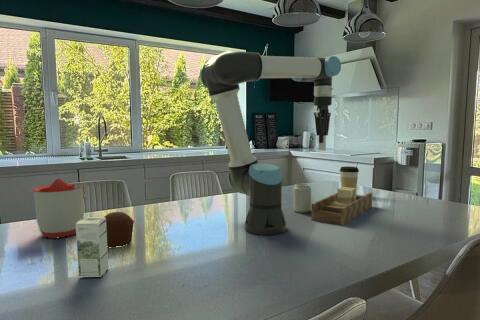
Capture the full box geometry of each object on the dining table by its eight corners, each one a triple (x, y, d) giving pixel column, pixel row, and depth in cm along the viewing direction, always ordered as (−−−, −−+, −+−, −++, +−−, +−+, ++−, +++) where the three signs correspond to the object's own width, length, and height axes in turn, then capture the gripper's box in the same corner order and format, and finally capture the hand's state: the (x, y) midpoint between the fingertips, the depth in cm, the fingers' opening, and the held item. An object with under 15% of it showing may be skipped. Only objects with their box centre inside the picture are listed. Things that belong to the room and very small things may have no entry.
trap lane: (343, 225, 128) (343, 208, 128) (311, 219, 136) (311, 203, 136) (372, 206, 157) (372, 192, 156) (344, 202, 165) (344, 189, 164)
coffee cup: (360, 194, 184) (361, 166, 182) (355, 198, 175) (356, 169, 174) (341, 192, 189) (342, 165, 187) (336, 196, 181) (337, 167, 179)
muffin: (132, 248, 107) (131, 217, 106) (95, 251, 105) (93, 219, 104) (136, 236, 118) (135, 208, 117) (102, 238, 116) (100, 210, 115)
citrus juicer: (99, 230, 125) (96, 176, 123) (50, 244, 111) (46, 183, 109) (75, 223, 134) (72, 173, 132) (27, 236, 120) (23, 179, 118)
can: (309, 209, 154) (310, 182, 152) (311, 213, 146) (311, 185, 145) (293, 208, 154) (293, 182, 153) (293, 213, 147) (294, 185, 146)
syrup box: (109, 269, 91) (106, 216, 90) (101, 279, 86) (98, 222, 84) (87, 269, 91) (84, 216, 90) (78, 279, 85) (74, 222, 84)
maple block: (350, 204, 144) (351, 190, 144) (337, 202, 148) (337, 189, 147) (355, 201, 149) (356, 188, 148) (342, 200, 153) (342, 186, 152)
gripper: (324, 95, 142) (324, 151, 144) (336, 96, 152) (335, 149, 155) (308, 96, 146) (307, 150, 149) (321, 97, 157) (320, 149, 159)
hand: (322, 150), depth 152 cm, fingers closed
